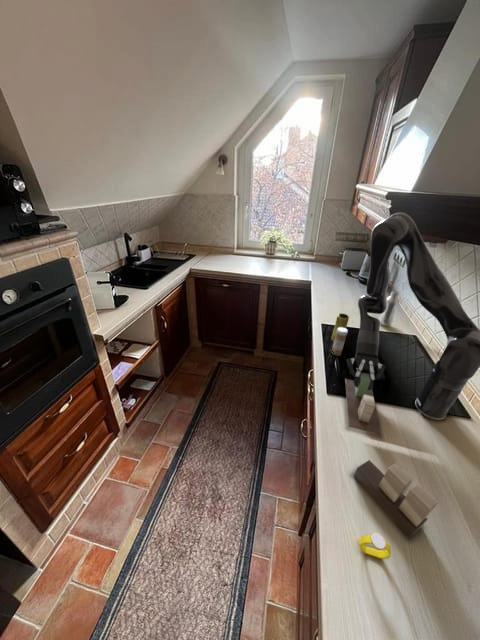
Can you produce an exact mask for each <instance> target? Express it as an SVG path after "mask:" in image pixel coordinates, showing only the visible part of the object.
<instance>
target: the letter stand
mask: <svg viewBox="0 0 480 640" xmlns="http://www.w3.org/2000/svg"><path fill="white" fill-rule="evenodd" d="M353 478H355V479H356V480H357V481H358V483H359V484H360V485H361V486H362V487H363V488H364V490H365V491H366V492H367V493H368V494H369V495H370V496H371V497H372V499H373V500H374V501H375V502H376V503H377V504H378V505H379V507H380V508H381V509H382V510H383V511H384V512H385V513H386V514H387V516H388V517H389V518H390V519H391V520H392V522H393V523H395V525H396V526H397V527H398V528H399V529H400V530H401V531H402V533H403V534H404V535H405V536H406V537H407V538H408V539H410V538H412V536H414V535H415V534H416V533H417V532H418V531H419V530H420V529H421V528H422V527H423V526H424V524H426V522H427V521H428V516H429V515H430V514H431V512H433V510H434V509H435V508H436V506H438V504H439V502H438V501H437V500H436V499H435V498H434V497H432V495H431V494H430V493H428V492H427V491H426V490H425V489H424V488H423V487H422V486H421V485H420V484H419V483H417V484H416V485H414V486H413V487H412V488H411V489H410V490H409V491H408V493H407V494H406V495H405V492H406V491H407V490H408V488H409V487H410V485H411V483H412V482H413V480H414V478H413V477H412V476H410V475H409V474H408V473H407V472H406V471H405V470H404V469H403V468H402V467H401V466H400V465H399V464H398V463H396V462H395V463H393V464H392V465H390V466H389V467H387V470H386V472H385V474H384V473H383V472H382V471H381V470H380V469H379V468H378V467H377V466H376V465H375V463H373V462H372V461H371V460H370V459H368V460H366V461H365V462H363V463H362V464H360V465H359V466H357V467H356V470H355V472H354V474H353Z"/></svg>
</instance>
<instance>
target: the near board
mask: <svg viewBox="0 0 480 640" xmlns="http://www.w3.org/2000/svg"><path fill="white" fill-rule="evenodd" d="M344 382H345V395H346V396H345V397H346V408H347V420H348V421H347V422H348V427H349V428H352V429H355V430H360V431H364V432H368V433H371V434H376V435H380V436H382V430H381V425H380V421H379V416H378V415H379V414H378V411H377V406H376V400H375V397H374V392H373V389H371V390H367V392H366V395H363V397H360V396H356V392H355V385H354V379H353V380H352V379H348V378H344Z"/></svg>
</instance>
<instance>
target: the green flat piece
mask: <svg viewBox="0 0 480 640" xmlns="http://www.w3.org/2000/svg"><path fill="white" fill-rule="evenodd" d="M369 384H370V378H369V374H368V373H365V372H362V371H361V372H360V375H359V386H358V388H357V387H355V392H356V396H360V397H363V395H366V392H367V389H368V387H369Z"/></svg>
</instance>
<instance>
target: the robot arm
mask: <svg viewBox="0 0 480 640" xmlns="http://www.w3.org/2000/svg"><path fill="white" fill-rule="evenodd" d="M396 247H398V248H399V250H400V252H401V253H402V255H403V258H404V260H405V266H406V278H407V284H408V287H409V289H410V290H411V292H412V294H413V295H414V298H415V299H416V301H418V303H419V304H420V305H421V307H423V309H425V310H426V311H427V312H428V313H429V314H431V315H432V316H433V317H434V318H435V319H436V320H437V322H438V323H439V325H440V326H441V329H442V330H443V332H444V334H445V337H446V339H447V342H446V343H447V344H446V346H445V348H444V351H443V352H442V354H441V356H440V357H439V359H438V360H437V361H436V362H435V364H434V367H433V368H432V370H431V372H430V374H429V376H428V378H427V379H426V381H425V383H424V385H423V387H422V389H421V390H420V393H419V395H418V397H417V398H416V399H415V402H414V403H415V404H414V405H415V407H416V408H417V410H419V412H420V414H421V415H422V416H424V417H425V418H427V419H430V420H433V421H443V420H445V418H446V416H447V414H448V413H449V411H450V410H451V408H452V407H453V405H454V403H455V402H456V400H457V399H458V398H459V396H460V394H461V393H462V391H463V390H464V388H465V386H466V384H467V383H468V381H469V380H470V379H472V378H473V377H474V376H475V375H476V374H477V371H478V370H479V369H480V329H479V327H478V326H477V325H476V324H475V322H474V321H473V320H472V319H471V318H470V316H469V315H468V313H466V311H465V309H464V308H463V305H462V304H461V302H460V299H459V297H458V296H457V294H456V293H455V290H454V289H453V287H452V285H451V284H450V282H449V280H448V279H447V277H446V275H445V274H444V272H443V271H442V270H441V268H440V266H439V265H438V264H437V262H436V261H435V259H434V257H433V255H432V254H431V252H430V251H429V249H428V247H427V245H426V243H425V242H424V239H423V237H422V235H421V233H420V231H419V229H418V227H417V224H416V223H415V221H414V219H413V218H412V217H411V216H410V215H408V214H407V213H405V212H401V211H400V212H399V211H398V212H395V213H393V214H391V215H389V216H388V217H386V218H383V220H381V221H379V222H378V223H377V224H375V226H374V227H373V228H372V230H371V235H370V256H369V258H370V261H369V273H368V277H367V281H366V287H365V293H366V294H363V295H360V296H359V298H358V299H357V309H358V314H359V329H358V335H357V340H356V350H355V355H354V357H352V358H350V357H349V358H347V359H346V364H347V369H348V372H349V374H350V375H351V376H353V381H354V385H355V387H357V388H358V386H359V375H360V372H361V373H362V371H364V370H365V371H366V372H367V374H369V378H370V384H369V387H368V389H367V390H371V389H372V390H374V389H373V388H374V381H376V380H377V381H378V380H380V379H381V377H382V376H383V373H384V371H385V369H386V368H387V366H386V365H385V364H382V363H380V361H379V360H378V357H379V347H380V329H381V324H380V321H379V318H377V317H374V316H371V315H369V314H375V315H382V313H383V312H385V311H386V309H387V292H388V291H387V290H388V287H389V284H390V280H391V270H390V267H389V260H390V257H391V255H392V252H393V251H394V249H395V248H396ZM354 362H355V365H356V366H357V367H356V369H355V370H354V366H353V365H354ZM376 367H377V372H376V374H375V368H376Z"/></svg>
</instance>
